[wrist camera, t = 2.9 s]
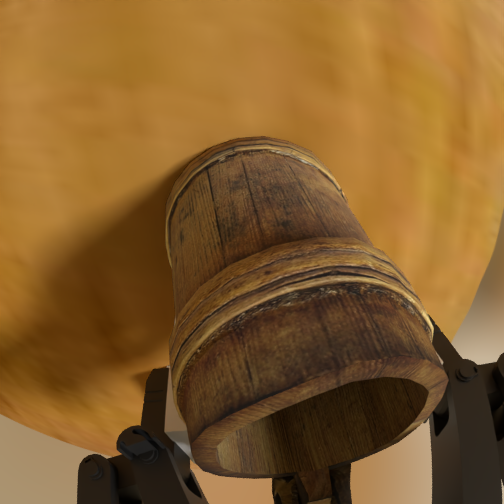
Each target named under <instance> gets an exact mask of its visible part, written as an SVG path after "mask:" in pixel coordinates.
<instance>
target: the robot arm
mask: <svg viewBox="0 0 504 504" xmlns="http://www.w3.org/2000/svg"><path fill="white" fill-rule="evenodd" d="M428 316H429V314H428ZM429 319H430V321H431V323H432V326H433V328H434V330H433V338H432V345H433V347H434V349H435V351H436V353H437V355H438V357H439V359H440V361H441V364H442V366H443V368H444V370H445V372H446V374H447V377H448V379H449V381H448V383H447V386H446V389H445V392H444V394H443V397H442V399H441V400H440V402H439V403H438V405H437V406H436V407H435V409H434V410H433V411H432V413H431V414H430V415H429V417H428V418H429V424H430V436H431V451H432V504H502V487H501V479H502V482H503V485H504V353H503V354H501V355H500V357H499V358H498V360H497V362H494V363H488V364H483V365H477V364H476V363H475V362H473V361H471V360H468V359H462V357H461V356H460V355H459V354H458V352H457V351H456V350H455V348H454V347H453V346H452V344H451V343H450V342H449V340H448V339H447V338H446V336H445V335H444V334H443V332H441V330H440V328H439V327H438V326H437V325H435V322H434V321H433V319H432V318H431V317H430V316H429ZM175 323H176V316H175V321H174V326H175ZM145 393H146V394H145V396H144V404H143V412H142V420H141V426H140V425H137V426H131V427H129V428H127V429H125V430H124V431H123V432H122V433H121V434H120V435H119V437H118V440H117V450H118V451H119V452H120V453H122V455H118V456H115V457H112V458H108V459H106V458H104V457H103V456H101V455H98V454H92V455H88V456H87V457H86V458H84V459H83V460H82V462H81V463H80V465H79V470H78V488H77V504H209V503H208V502H207V500H206V498H205V496H204V494H203V492H202V490H201V488H200V486H199V483H198V481H197V480H196V477H195V475H194V473H193V472H192V470H191V469H190V459H191V460H192V461H193V462H194V459H193V457H192V454H191V449H190V444H189V438H188V433H187V427H186V425H185V424H184V422H183V421H182V420H181V418H180V417H179V415H178V412H177V410H176V407H175V404H174V399H173V391H172V381H171V371H170V366H169V368H161V369H153V371H152V372H151V374H150V376H149V377H148V379H147V382H146V389H145ZM428 418H427V419H426V420H425V421H424V422H423V423H426V422H427V420H428ZM194 463H195V462H194ZM195 464H196V463H195Z"/></svg>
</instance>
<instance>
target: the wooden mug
mask: <svg viewBox="0 0 504 504" xmlns="http://www.w3.org/2000/svg"><path fill="white" fill-rule="evenodd" d="M165 245H166V250H167V254H168V259H169V263H170V266H171V268H172V279H173V293H174V305H175V316H176V323H175V326H174V329H173V331H172V334H171V337H170V340H169V355H170V371H171V381H172V391H173V399H174V404H175V407H176V410H177V412H178V415H179V417H180V418H181V420H182V421H183V422H184V424H185V425H186V427H187V433H188V438H189V444H190V449H191V454H192V457H193V459H194V462H195V463H196V464H197V465H198V466H199V467H200V468H201V469H202V470H203V471H205V472H209V473H212V474H215V475H218V476H225V477H237V478H253V479H255V478H256V479H257V478H272V494H273V499H274V504H352V500H351V490H350V472H351V463H352V462H355V461H358V460H360V459H363V458H365V457H368V456H370V455H372V454H375V453H377V452H379V451H382V450H383V449H386V448H388V447H390V446H392V445H394V444H396V443H398V442H399V441H400V440H402V439H403V438H405V437H406V436H407V435H408V434H410V433H411V432H412V431H414V430H415V429H416V428H417V427H418V426H420V424H422V423H423V422H424V421H425V420H426V419H427V418H428V417H429V415H430V414H431V413H432V411H433V410H434V409H435V407H436V406H437V405H438V403H439V402H440V400H441V399H442V397H443V394H444V392H445V389H446V386H447V383H448V381H449V379H448V377H447V374H446V372H445V370H444V368H443V366H442V364H441V361H440V359H439V357H438V355H437V353H436V351H435V349H434V347H433V345H432V338H433V330H434V328H433V326H432V323H431V321H430V319H429V316H428V314H427V312H426V310H425V308H424V306H423V305H422V303H421V301H420V299H419V298H418V296H417V294H416V293H415V291H414V289H413V288H412V286H411V285H410V283H409V281H408V280H407V278H406V277H405V275H404V274H403V272H402V271H401V270H400V269H399V268H398V267H397V266H396V265H395V263H394V262H393V261H392V260H391V259H390V258H389V257H388V256H387V255H386V254H385V253H384V252H383V251H381V250H379V249H377V248H375V247H374V246H373V244H372V243H371V241H370V239H369V238H368V236H367V235H366V233H365V231H364V230H363V228H362V227H361V225H360V223H359V222H358V220H357V219H356V217H355V216H354V214H353V213H352V211H351V210H350V208H349V205H348V201H347V198H346V196H345V194H344V193H343V191H342V189H341V188H340V186H339V184H338V183H337V181H336V180H335V178H334V176H333V175H332V173H331V171H330V170H329V169H328V168H327V167H326V166H325V165H324V164H323V163H322V162H321V161H320V160H319V159H318V158H317V157H316V156H315V155H314V154H313V153H312V152H311V151H310V150H307V149H305V148H303V147H300V146H298V145H296V144H293V143H291V142H289V141H285V140H280V139H275V138H270V137H265V136H260V137H246V138H237V139H234V140H231V141H228V142H225V143H222V144H220V145H217V146H214V147H212V148H210V149H209V150H208V151H206V152H205V153H203V154H202V155H200V156H199V157H197V158H196V159H195V160H193V161H192V162H190V163H189V165H188V166H187V167H186V169H185V170H184V171H183V172H182V174H181V175H180V176H179V178H178V179H177V180H176V182H175V183H174V185H173V188H172V190H171V193H170V195H169V198H168V200H167V203H166V224H165Z"/></svg>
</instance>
